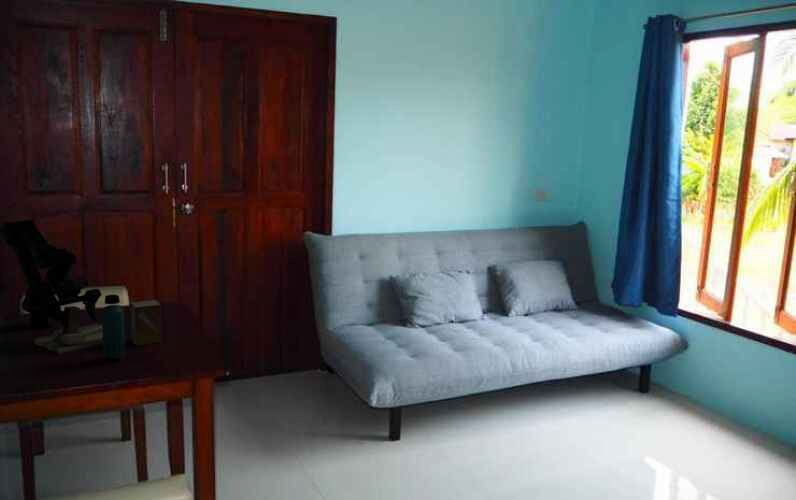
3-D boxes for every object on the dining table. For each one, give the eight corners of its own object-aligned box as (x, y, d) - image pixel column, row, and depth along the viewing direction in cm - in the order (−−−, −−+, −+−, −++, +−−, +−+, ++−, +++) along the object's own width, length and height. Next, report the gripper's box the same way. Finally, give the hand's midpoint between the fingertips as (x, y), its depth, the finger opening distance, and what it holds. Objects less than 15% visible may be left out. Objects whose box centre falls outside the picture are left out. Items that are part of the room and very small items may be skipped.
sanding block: (53, 339, 219) (56, 305, 218) (71, 337, 224) (74, 304, 223) (67, 345, 214) (69, 310, 213) (85, 342, 219) (88, 309, 218)
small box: (136, 346, 222) (134, 307, 219) (131, 340, 227) (129, 302, 225) (161, 342, 226) (160, 304, 224) (156, 337, 232) (155, 299, 229)
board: (33, 343, 221) (33, 338, 221) (97, 327, 239) (97, 323, 239) (59, 354, 213) (59, 349, 212) (123, 337, 230) (123, 332, 230)
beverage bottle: (112, 365, 206) (109, 299, 202) (98, 360, 209) (95, 295, 205) (131, 359, 211) (128, 295, 207) (117, 354, 214) (114, 291, 211)
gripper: (40, 273, 212) (62, 315, 208) (97, 264, 227) (118, 303, 223) (28, 294, 218) (49, 335, 214) (84, 283, 233) (105, 322, 229)
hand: (81, 323), depth 220 cm, fingers open, 9 cm apart
